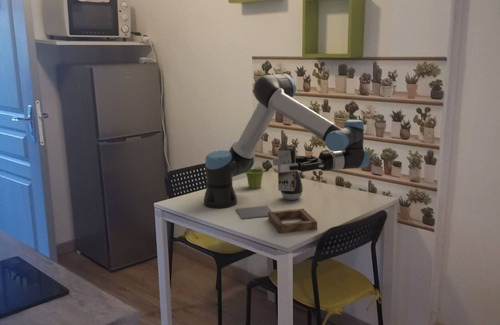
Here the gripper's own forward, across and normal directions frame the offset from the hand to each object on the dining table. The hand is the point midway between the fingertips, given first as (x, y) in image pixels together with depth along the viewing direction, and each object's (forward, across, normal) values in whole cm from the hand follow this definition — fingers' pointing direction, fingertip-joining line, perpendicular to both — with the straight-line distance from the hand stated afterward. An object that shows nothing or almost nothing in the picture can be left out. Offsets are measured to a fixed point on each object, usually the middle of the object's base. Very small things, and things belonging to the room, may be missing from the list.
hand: (276, 165), depth 192 cm
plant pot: (-3, +55, -24) cm, 60 cm away
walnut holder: (-5, -2, -24) cm, 25 cm away
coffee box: (-4, 0, -10) cm, 11 cm away
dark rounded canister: (-15, +31, -24) cm, 42 cm away
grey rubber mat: (+6, +16, -24) cm, 29 cm away
